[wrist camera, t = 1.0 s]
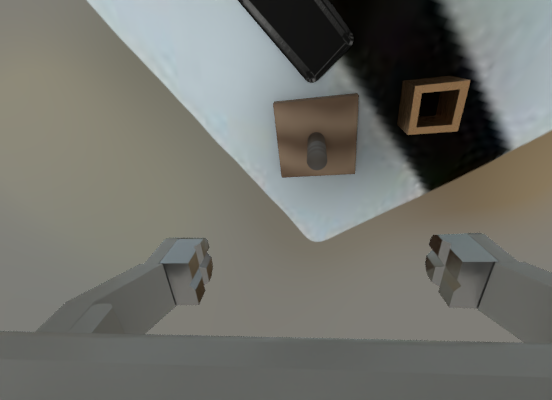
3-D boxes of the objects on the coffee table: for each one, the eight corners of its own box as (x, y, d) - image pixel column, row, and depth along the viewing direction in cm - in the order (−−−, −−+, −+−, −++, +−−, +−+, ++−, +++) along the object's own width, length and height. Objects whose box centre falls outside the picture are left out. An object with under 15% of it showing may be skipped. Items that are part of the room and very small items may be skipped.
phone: (311, 86, 36) (230, -8, 31) (311, 85, 37) (233, -7, 32) (358, 39, 32) (275, -75, 28) (356, 39, 33) (276, -71, 29)
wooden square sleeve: (402, 80, 35) (415, 85, 31) (450, 75, 34) (470, 80, 30) (397, 124, 38) (407, 134, 34) (441, 121, 37) (457, 131, 33)
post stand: (274, 101, 38) (264, 117, 30) (357, 93, 36) (369, 107, 28) (282, 173, 44) (276, 202, 36) (353, 169, 42) (363, 199, 34)
